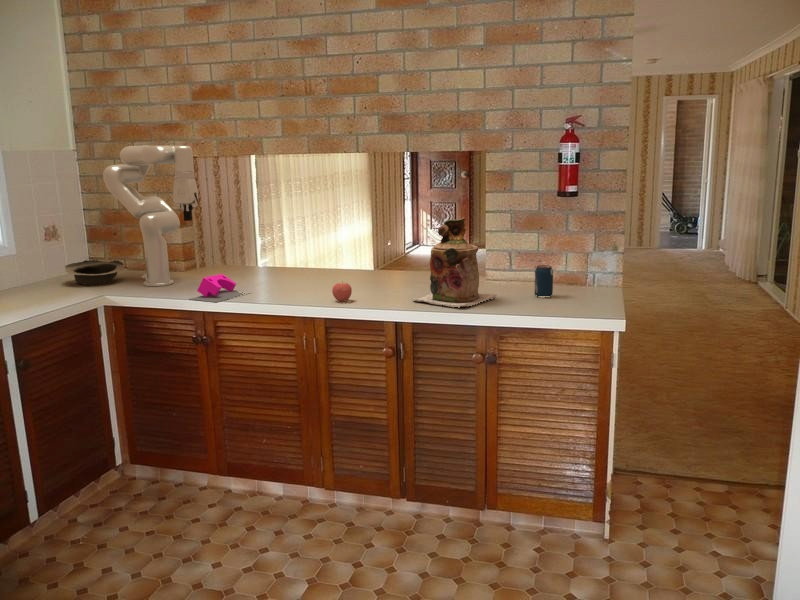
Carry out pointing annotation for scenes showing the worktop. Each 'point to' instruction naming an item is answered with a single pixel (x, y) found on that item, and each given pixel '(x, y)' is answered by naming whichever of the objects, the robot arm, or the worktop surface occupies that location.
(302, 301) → the worktop surface
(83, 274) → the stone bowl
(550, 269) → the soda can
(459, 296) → the cookie jar
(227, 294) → the mat
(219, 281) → the toy block
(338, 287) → the apple
